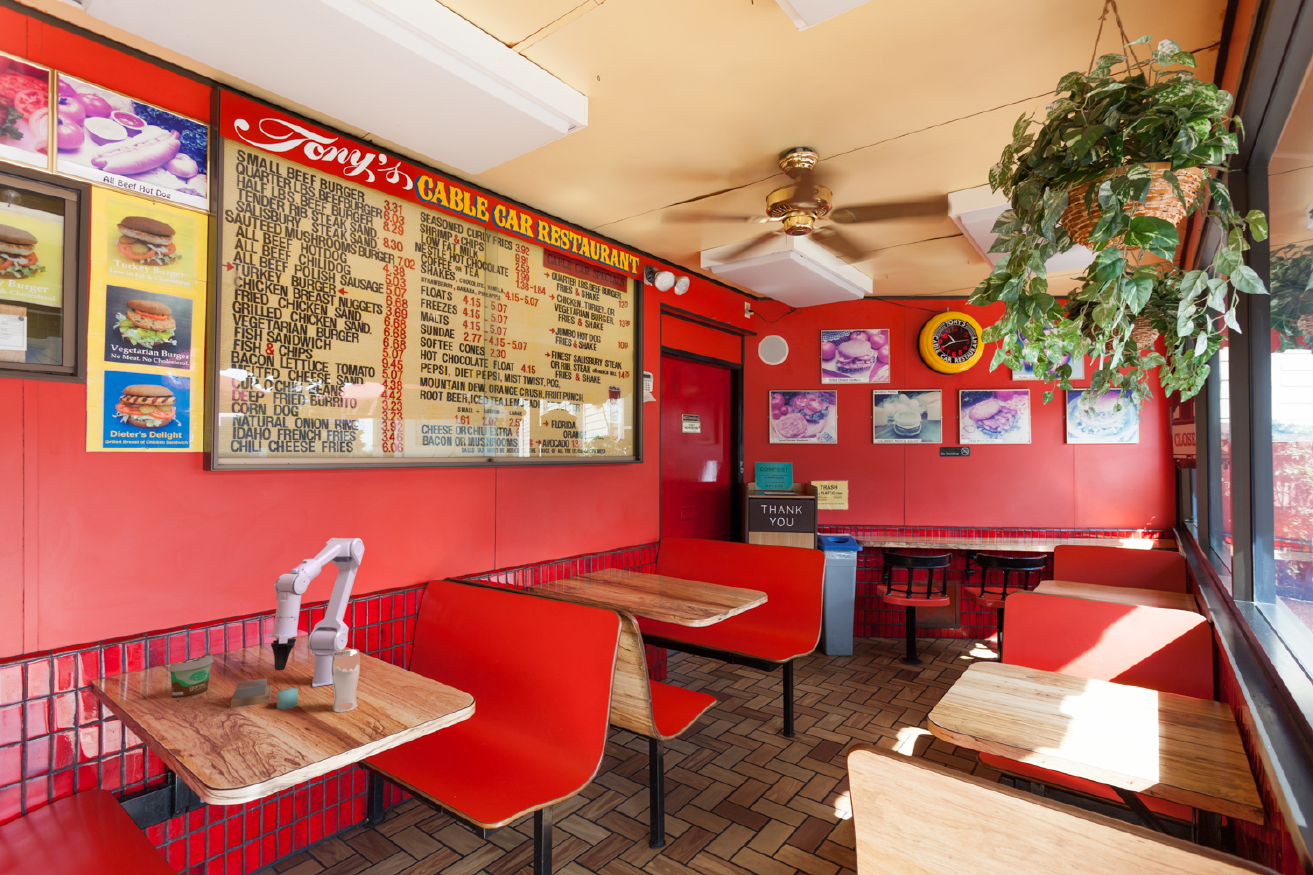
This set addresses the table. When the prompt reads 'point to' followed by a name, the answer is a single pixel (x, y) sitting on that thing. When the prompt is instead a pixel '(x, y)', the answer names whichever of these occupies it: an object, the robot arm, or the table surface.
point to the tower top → (251, 688)
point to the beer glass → (345, 679)
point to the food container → (190, 676)
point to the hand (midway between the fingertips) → (280, 668)
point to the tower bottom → (252, 699)
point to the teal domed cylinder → (287, 698)
